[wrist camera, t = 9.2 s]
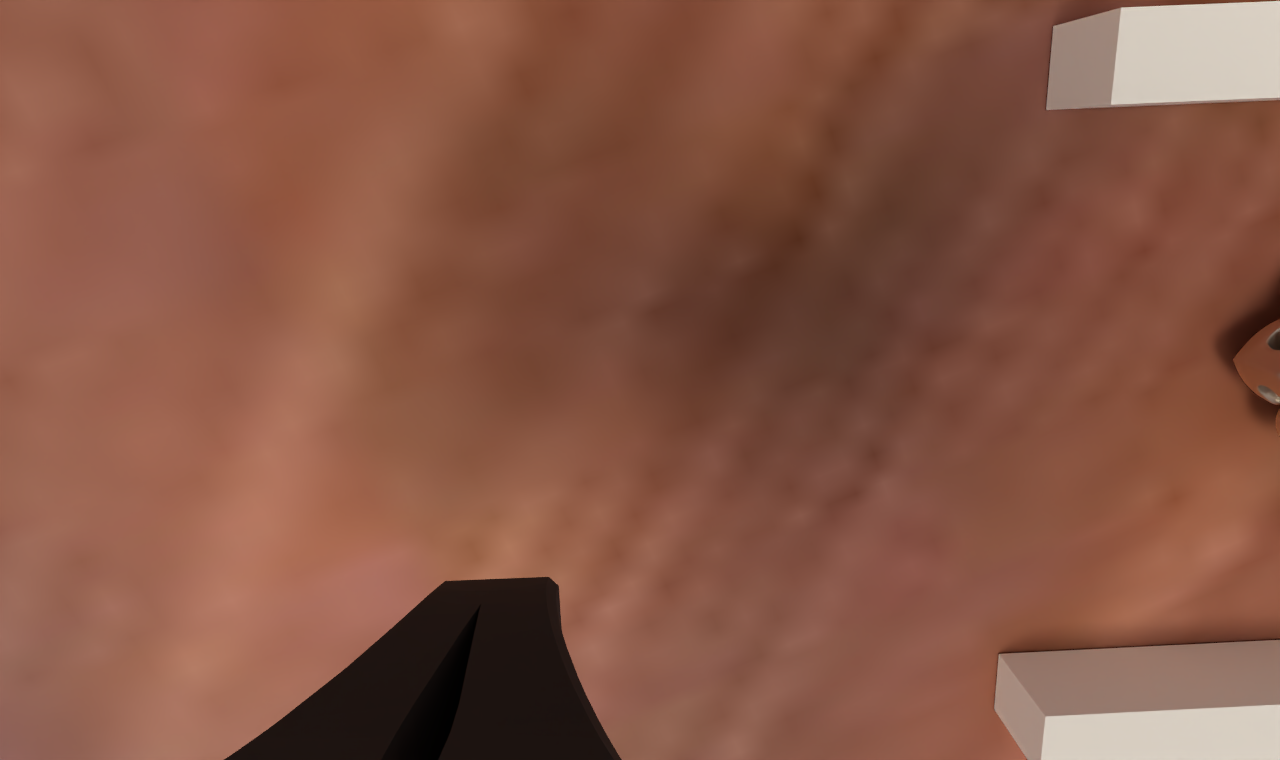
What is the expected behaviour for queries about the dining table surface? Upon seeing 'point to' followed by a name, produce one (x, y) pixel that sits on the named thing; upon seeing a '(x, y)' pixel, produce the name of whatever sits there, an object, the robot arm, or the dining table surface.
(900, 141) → the dining table surface
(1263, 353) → the ornament
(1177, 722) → the u-shaped frame
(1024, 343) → the dining table surface
